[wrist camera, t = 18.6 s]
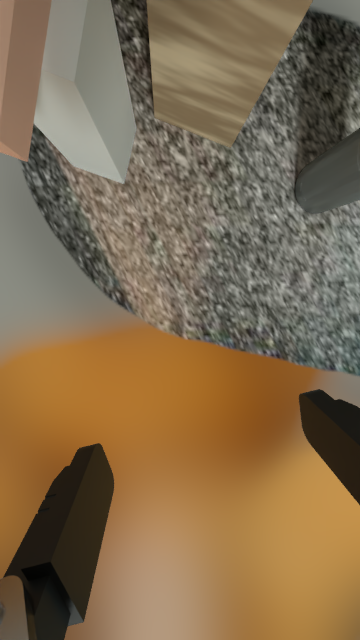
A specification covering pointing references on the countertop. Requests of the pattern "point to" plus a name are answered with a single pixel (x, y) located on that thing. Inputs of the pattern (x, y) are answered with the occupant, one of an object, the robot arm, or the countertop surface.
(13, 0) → the terracotta bar
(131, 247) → the countertop surface
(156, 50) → the oak stand
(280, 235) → the countertop surface
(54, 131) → the grey block
